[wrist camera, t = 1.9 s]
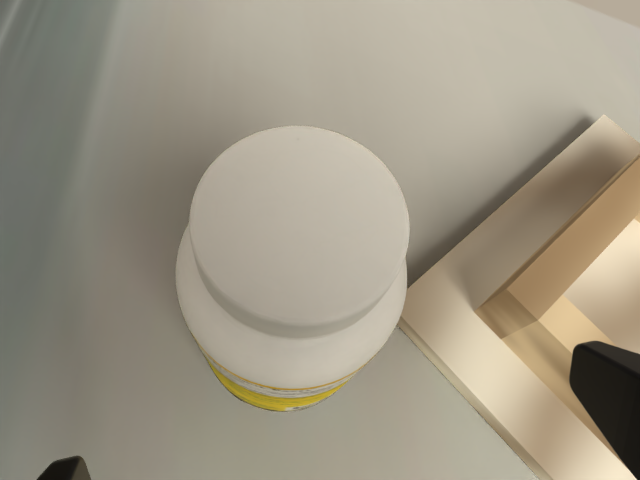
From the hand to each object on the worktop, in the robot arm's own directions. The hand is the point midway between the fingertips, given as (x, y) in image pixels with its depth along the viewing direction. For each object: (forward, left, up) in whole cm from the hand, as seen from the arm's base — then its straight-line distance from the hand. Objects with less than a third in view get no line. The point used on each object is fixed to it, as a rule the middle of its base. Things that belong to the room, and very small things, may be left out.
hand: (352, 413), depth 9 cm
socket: (-6, -14, -11) cm, 19 cm away
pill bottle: (+4, -2, -11) cm, 12 cm away
